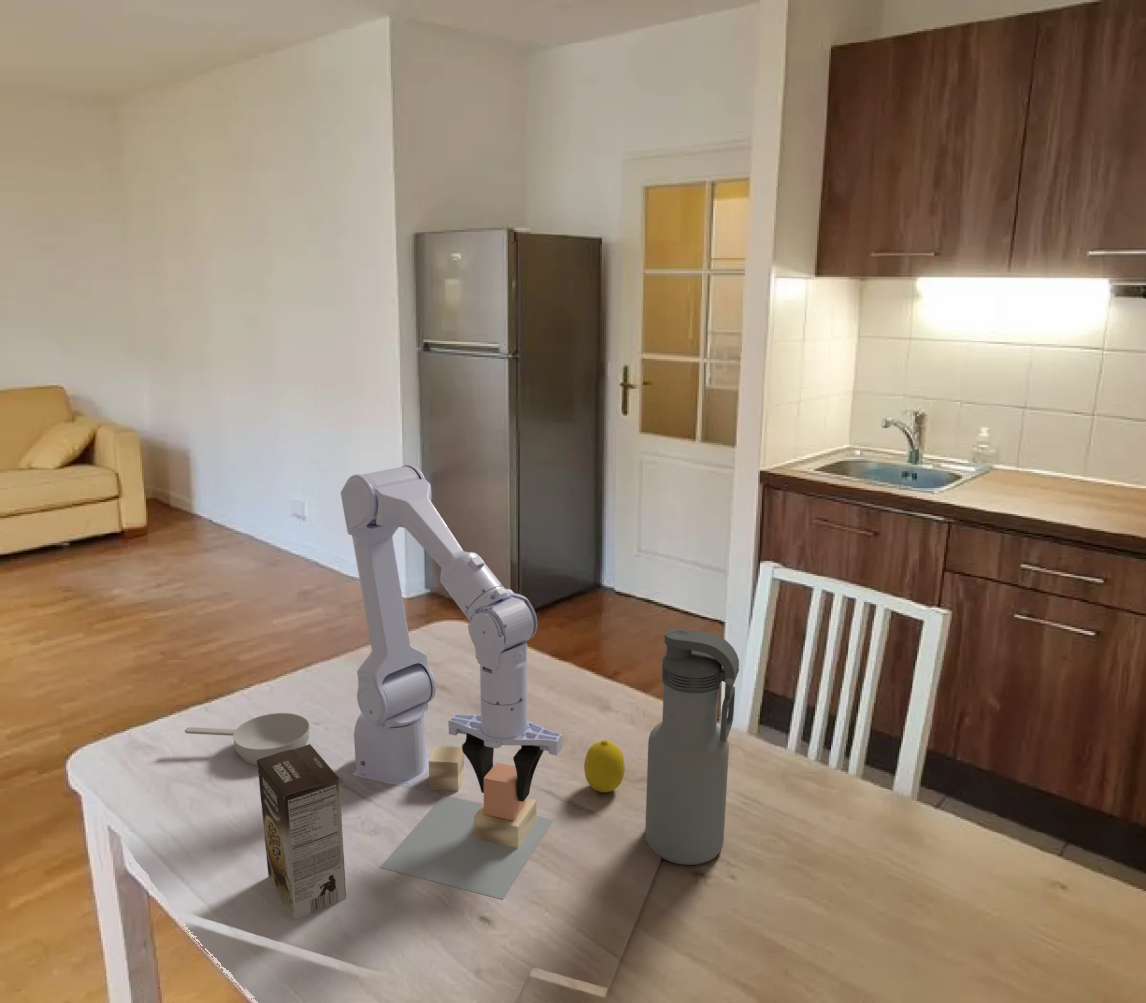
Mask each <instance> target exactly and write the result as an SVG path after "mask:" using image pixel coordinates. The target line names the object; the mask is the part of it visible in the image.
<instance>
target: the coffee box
mask: <svg viewBox="0 0 1146 1003" xmlns="http://www.w3.org/2000/svg"><path fill="white" fill-rule="evenodd" d="M257 765H258V766H257ZM257 765H256V766H257V773H258V774H257V775H258V782H259V783H258V784H259V794H260V803H261V813H262V824H263V833H264V845H265V852H266V853H265V855H266V866H267V875H268V880H269V881H270V883H271V885H272V887H273V889H274V890H275V892H276V894H277V895H278V897H279V899H280V901H281V902H282V904H283V905H284V907H285V909H286V910H287V913H289V915H290V917H291V919H292V920H293V921H296V920H300V919H301V918H303V917H307V916H309V915H311V914H313V913H314V914H315V912H318V911H321V910H323V909H325V908H327V907H330V906H332V905H335V904H336V903H340V902H341V901H344V900H345V899H347V890H346V873H345V856H344V855H345V853H344V837H343V833H344V832H343V817H342V815H343V814H342V804H341V802H342V800H341V787H340V786H341V784H340V777H339V776H338V775H337V773H335V771H334V770H333V769H332V768H331V767H330V765H329V764H328V763H327V762H326V761H325V759H324V758H323V757H321V755H320V754H319V752H318V751H316V749H315V748H314V746H312V745H311V744H310V743H308V744H306V745H305V746H303V747H300V748H296V749H291V750H287V751H283V752H279V753H276V754H273V755H270V756H267V757H264V758H261V759H258V760H257Z"/></svg>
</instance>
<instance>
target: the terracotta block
mask: <svg viewBox="0 0 1146 1003" xmlns="http://www.w3.org/2000/svg"><path fill="white" fill-rule="evenodd" d="M483 804H484V815H489V816H494V817H498V818H503V819H508V820H513V821H514V819H515V818H516V816H517V815H518V814H519V812H520V811H521V809H522V808H523V806H524V805H525V800H524V801H523V802H522V801H518V797H517V772H516V767H515V765H510V764H505V763H500V762H496V763H495V764H493V767H492V769H491V770H490V771H489V772H488V773H487V775H486V776H485V777H484V793H483Z"/></svg>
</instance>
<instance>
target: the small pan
mask: <svg viewBox="0 0 1146 1003" xmlns="http://www.w3.org/2000/svg"><path fill="white" fill-rule="evenodd" d="M184 733H185V734H189V735H190V734H193V735H209V736H211V735H213V736H232V739H233V744H234V748H235V751H236V752H237V753H238V754H239V757H240V758H242V759H243V760H244V761H245V762H246V763H248V764H250V765H252V766H256V767H258V765H257V760H258V759H261V758H264V757H267V756H270V755H273V754H276V753H279V752H283V751H287V750H291V749H296V748H300V747H303V746H306V745H308V744H307V743H308V741H309V738H310V722H309V720H307V719H306V718H305V717H304V716H303V715H299V714H296V713H289V712H279V713H278V712H275V713H268V714H264V715H260V716H257V717H254V718H250V719H248V720H246V721H245V722H243V723H242V724H240V725H239V726H238V727H237V728H236V729H235V728H233V729H232V728H231V729H230V728H216V727H215V728H212V727H211V728H209V727H191V726H190V727H186V728H185V729H184Z"/></svg>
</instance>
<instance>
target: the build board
mask: <svg viewBox="0 0 1146 1003" xmlns="http://www.w3.org/2000/svg"><path fill="white" fill-rule="evenodd" d="M483 804H484V803H483V802H482V803H481V802H477V801H472V800H468V799H463V798H459V797H456V796H450V795H446V794H445V795H444V794H443V795H441V797H440V798H439V799H438V801H437V802H436V803H435V804H434V805H433V806H432V808H430V809H429V811H428V812H427V813H426V814H425V816H423V818H422V819H420V821H419V822H418V823H417V824H416V826H414V828H413V829H412V831H410V832H409V833H408V835H407V836H406V837H405V838H404V839H403V840H402V841H401V843H400V844H399V845H398V846H397V847H396V848H395V849H394V851H393V852H392V853H391V854H390V855H389V856H388V857H387V859H386V860H385V861H384V862H383V863H382V865H381V866H380V867H379V868H381V869H384V870H388V871H392V872H396V873H399V874H403V875H407V876H410V877H414V878H419V879H422V880H426V881H430V882H434V883H437V884H441V885H445V886H450V887H451V888H457V889H460V890H464V891H468V892H472V893H475V894H480V895H484V896H486V897H491V898H495V899H499V900H504V899H505V897H506V895H507V894H508V893H509V891H510V890H511V888H512V886H513V885H514V884H515V881H516V880H517V878H518V877H519V875H520V874H521V872H522V870H524V867H525V866H526V865H527V862H528V861H529V860H530V858H531V856H532V855H533V854H534V852H535V850H536V848H537V847H538V846H539V844H540V842H541V841H542V839H543V838H544V836H545V834H546V833H547V831H548V829H549V828H550V826H551V825H552V824H553V822H554V819H553V818H548V817H543V816H539V815H536V822H535V824H534V825H533V827H532V828H531V830H530V831H529V833H528V834H527V836H526V837H525V839H524V840H523V842H522V843H521V845H520V846H519V848H515V847H511V846H507V845H502V844H498V843H494V842H490V841H486V840H481V839H477V838H474V816H475V814H476V813H477V812H478V811H479V809H480V808H481V807H482V805H483Z"/></svg>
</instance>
